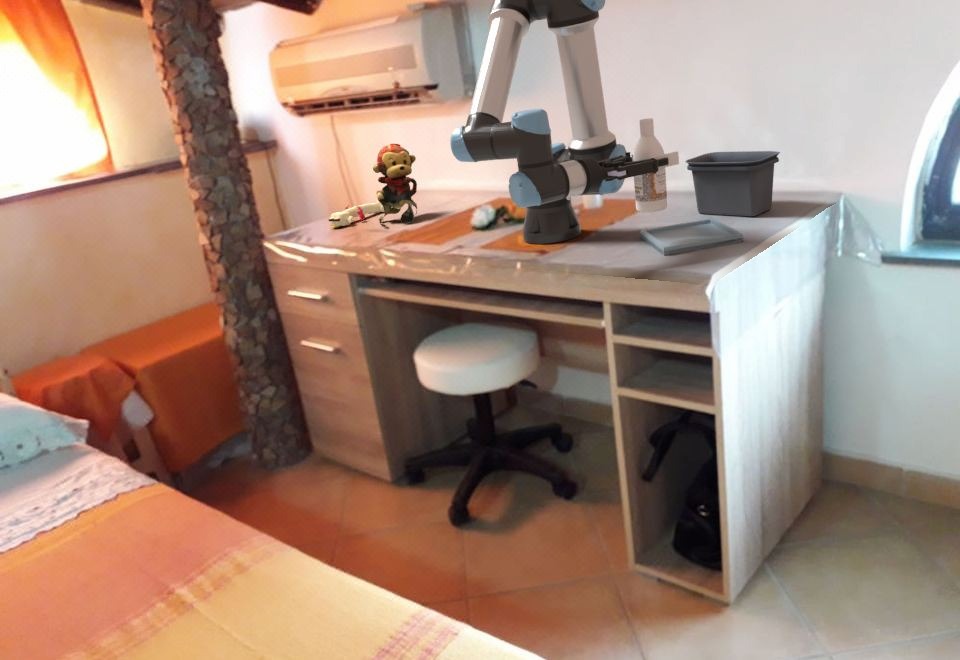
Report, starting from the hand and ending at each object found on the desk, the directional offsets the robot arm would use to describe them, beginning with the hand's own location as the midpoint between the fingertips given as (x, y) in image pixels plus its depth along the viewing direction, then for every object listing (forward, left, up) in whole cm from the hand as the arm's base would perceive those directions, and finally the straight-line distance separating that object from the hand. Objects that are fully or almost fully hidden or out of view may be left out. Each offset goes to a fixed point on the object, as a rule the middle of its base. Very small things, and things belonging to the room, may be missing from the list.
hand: (666, 156), depth 175 cm
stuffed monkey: (-78, -64, -20) cm, 103 cm away
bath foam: (+2, -5, -11) cm, 12 cm away
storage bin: (-19, +23, -20) cm, 36 cm away
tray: (0, +4, -20) cm, 20 cm away
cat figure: (-91, -78, -20) cm, 122 cm away
